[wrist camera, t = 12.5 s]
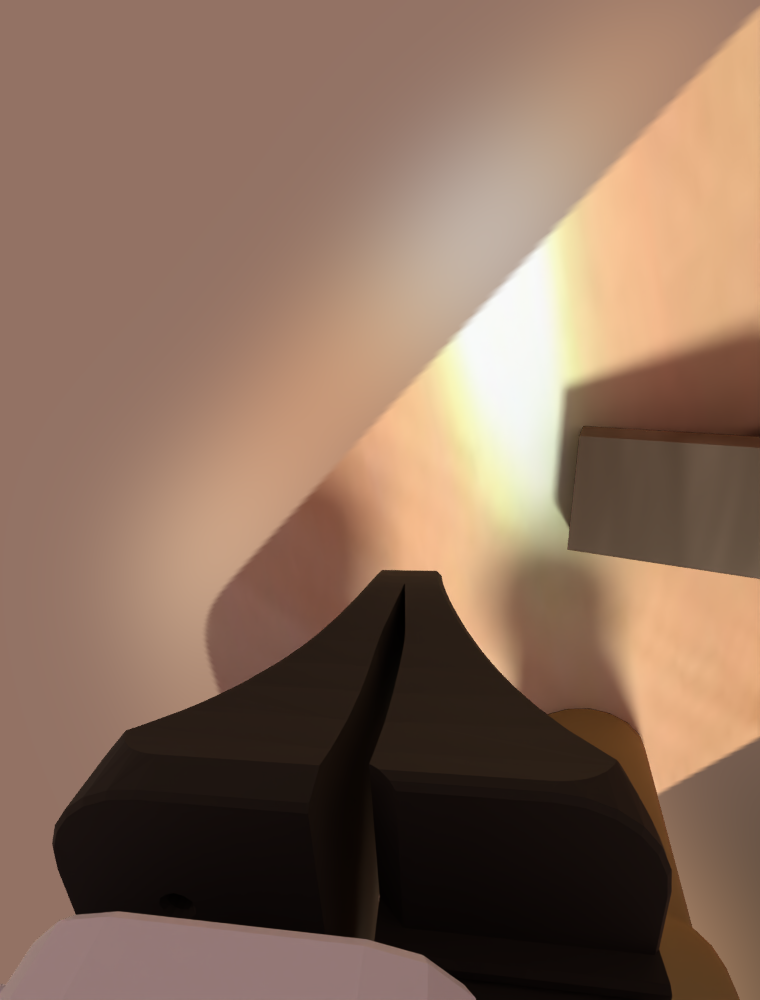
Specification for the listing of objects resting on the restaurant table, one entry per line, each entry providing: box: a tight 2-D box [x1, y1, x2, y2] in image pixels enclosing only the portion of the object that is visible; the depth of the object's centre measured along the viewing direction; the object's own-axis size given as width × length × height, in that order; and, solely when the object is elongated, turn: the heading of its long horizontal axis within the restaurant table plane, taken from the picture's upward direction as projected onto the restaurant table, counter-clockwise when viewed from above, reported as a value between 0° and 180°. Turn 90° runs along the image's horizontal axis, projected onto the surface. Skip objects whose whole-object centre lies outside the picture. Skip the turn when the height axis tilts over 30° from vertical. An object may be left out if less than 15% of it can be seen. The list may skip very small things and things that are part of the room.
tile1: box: [567, 426, 760, 579], centre depth 18 cm, size 2×4×7 cm
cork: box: [548, 709, 740, 1000], centre depth 20 cm, size 6×6×11 cm
